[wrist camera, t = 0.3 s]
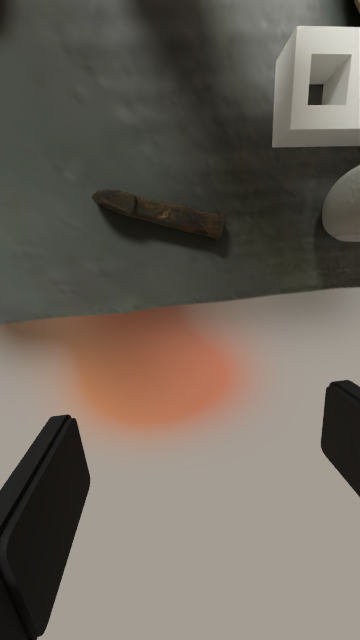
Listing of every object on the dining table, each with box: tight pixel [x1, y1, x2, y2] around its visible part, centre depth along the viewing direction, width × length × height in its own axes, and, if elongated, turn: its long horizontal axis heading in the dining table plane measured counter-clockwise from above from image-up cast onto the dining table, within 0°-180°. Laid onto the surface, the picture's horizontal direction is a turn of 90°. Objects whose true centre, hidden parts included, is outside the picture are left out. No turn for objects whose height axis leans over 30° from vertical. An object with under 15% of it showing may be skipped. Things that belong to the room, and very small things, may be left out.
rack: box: [272, 26, 360, 148], centre depth 31 cm, size 10×16×5 cm, turn 93°
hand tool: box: [92, 190, 226, 242], centre depth 33 cm, size 19×4×5 cm, turn 76°
